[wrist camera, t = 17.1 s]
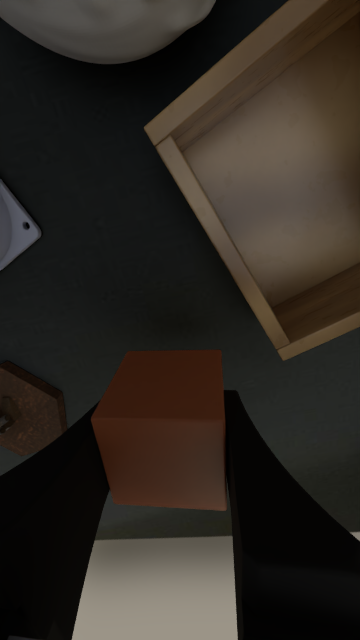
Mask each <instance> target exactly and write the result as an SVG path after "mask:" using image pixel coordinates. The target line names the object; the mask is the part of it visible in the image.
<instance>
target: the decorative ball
mask: <svg viewBox="0 0 360 640" xmlns="http://www.w3.org/2000/svg"><path fill="white" fill-rule="evenodd" d="M215 2H216V0H0V17H1V18H2V19H3V20H4V21H6V22H7V23H8V24H10V25H11V26H12V27H14V28H15V29H16V30H18V31H19V32H21V33H22V34H24V35H25V36H27V37H28V38H30V39H32V40H33V41H35V42H37V43H38V44H40V45H42V46H44V47H46V48H48V49H50V50H52V51H54V52H56V53H59V54H61V55H64V56H67V57H69V58H73V59H76V60H80V61H84V62H89V63H97V64H119V63H126V62H131V61H135V60H138V59H141V58H144V57H147V56H149V55H151V54H153V53H155V52H157V51H159V50H161V49H163V48H164V47H166V46H167V45H169V44H170V43H172V42H173V41H174V40H176V39H177V38H178V37H179V36H180V35H182V34H183V33H184V32H185V31H186V30H188V29H189V28H191V27H193V26H195V25H196V24H198V23H200V22H201V21H202V20H204V19H205V18H206V17H207V15H208V14H209V12H210V11H211V9H212V7H213V5H214V3H215Z"/></svg>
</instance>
